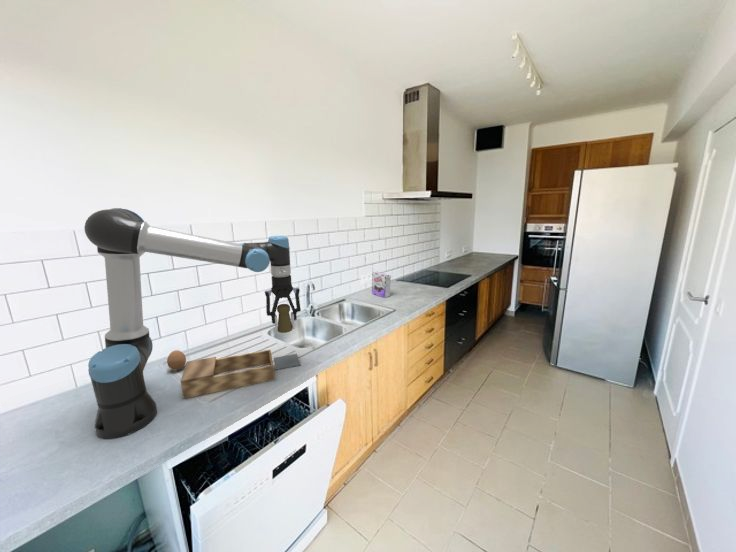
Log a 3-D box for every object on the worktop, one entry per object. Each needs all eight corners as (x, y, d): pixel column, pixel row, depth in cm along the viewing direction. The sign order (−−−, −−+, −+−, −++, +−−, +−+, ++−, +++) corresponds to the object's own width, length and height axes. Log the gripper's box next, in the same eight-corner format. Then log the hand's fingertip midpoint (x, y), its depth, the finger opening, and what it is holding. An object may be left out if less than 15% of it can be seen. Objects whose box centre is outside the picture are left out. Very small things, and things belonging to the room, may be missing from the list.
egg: (189, 363, 126) (186, 346, 124) (185, 372, 120) (182, 353, 118) (171, 366, 124) (168, 348, 122) (166, 374, 118) (163, 355, 116)
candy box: (371, 293, 222) (371, 272, 218) (377, 292, 226) (377, 271, 222) (384, 298, 212) (385, 275, 208) (390, 296, 216) (391, 274, 212)
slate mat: (276, 370, 121) (276, 369, 121) (273, 358, 130) (273, 357, 130) (300, 365, 125) (300, 364, 125) (296, 354, 134) (296, 353, 134)
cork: (288, 333, 121) (286, 307, 118) (274, 332, 122) (272, 306, 119) (294, 327, 126) (293, 302, 124) (281, 326, 128) (280, 301, 125)
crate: (183, 398, 104) (180, 380, 102) (189, 377, 116) (186, 361, 114) (274, 379, 115) (273, 363, 114) (271, 362, 127) (270, 347, 126)
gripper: (256, 279, 111) (261, 336, 117) (307, 275, 118) (309, 328, 124) (255, 275, 118) (260, 329, 124) (303, 271, 125) (306, 322, 131)
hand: (284, 328), depth 124 cm, fingers closed on cork, 6 cm apart
